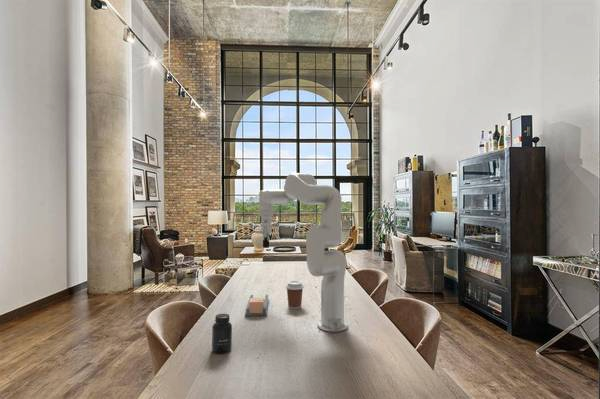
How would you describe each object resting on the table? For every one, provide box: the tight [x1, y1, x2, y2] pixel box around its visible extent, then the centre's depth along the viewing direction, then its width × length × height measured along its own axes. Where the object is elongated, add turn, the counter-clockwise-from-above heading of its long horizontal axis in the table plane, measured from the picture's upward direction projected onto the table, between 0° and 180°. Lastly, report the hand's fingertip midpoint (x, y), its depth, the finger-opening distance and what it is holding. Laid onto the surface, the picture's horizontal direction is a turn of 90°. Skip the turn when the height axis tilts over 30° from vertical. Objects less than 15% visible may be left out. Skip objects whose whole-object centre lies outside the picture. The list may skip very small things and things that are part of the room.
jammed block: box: [249, 297, 264, 313], centre depth 153 cm, size 6×6×5 cm
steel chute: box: [244, 294, 270, 317], centre depth 161 cm, size 22×10×4 cm, turn 3°
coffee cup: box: [285, 280, 305, 310], centre depth 163 cm, size 9×9×12 cm
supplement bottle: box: [211, 313, 233, 355], centre depth 116 cm, size 7×7×12 cm
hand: (265, 247), depth 177 cm, fingers closed
